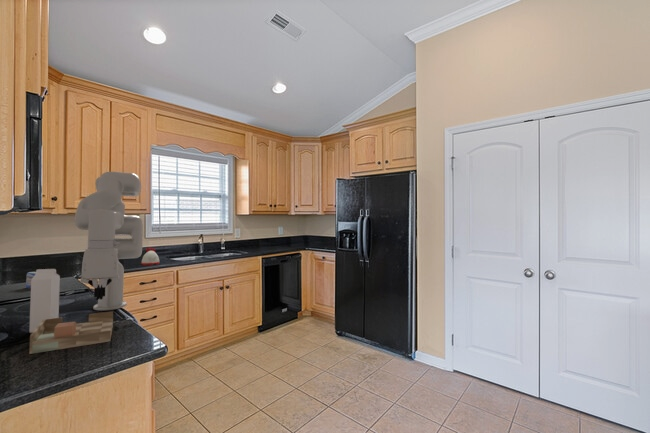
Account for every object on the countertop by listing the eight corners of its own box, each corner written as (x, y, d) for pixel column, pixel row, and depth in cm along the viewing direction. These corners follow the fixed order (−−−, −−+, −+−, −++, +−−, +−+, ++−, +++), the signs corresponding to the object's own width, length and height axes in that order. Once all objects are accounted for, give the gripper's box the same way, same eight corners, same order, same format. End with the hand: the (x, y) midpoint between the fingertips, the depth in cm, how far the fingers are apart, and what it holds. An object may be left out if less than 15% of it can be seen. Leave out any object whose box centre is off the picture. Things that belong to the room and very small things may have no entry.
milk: (49, 331, 111) (51, 270, 111) (28, 332, 109) (31, 270, 109) (58, 325, 116) (60, 267, 116) (38, 326, 114) (40, 268, 115)
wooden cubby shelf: (43, 335, 107) (43, 319, 107) (112, 325, 118) (113, 311, 118) (29, 353, 92) (30, 335, 92) (110, 341, 103) (110, 324, 103)
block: (58, 335, 100) (58, 323, 101) (75, 333, 103) (75, 321, 103) (53, 340, 97) (54, 327, 97) (72, 338, 99) (72, 325, 99)
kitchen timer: (140, 263, 273) (141, 246, 273) (157, 262, 281) (158, 246, 282) (142, 265, 262) (143, 247, 262) (160, 264, 270) (161, 247, 270)
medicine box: (25, 288, 174) (26, 272, 174) (34, 286, 178) (35, 271, 178) (36, 289, 172) (36, 273, 172) (45, 287, 176) (45, 272, 176)
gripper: (127, 244, 112) (125, 294, 112) (75, 245, 104) (73, 299, 104) (127, 245, 106) (125, 298, 106) (71, 246, 98) (69, 304, 98)
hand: (99, 298), depth 105 cm, fingers closed
